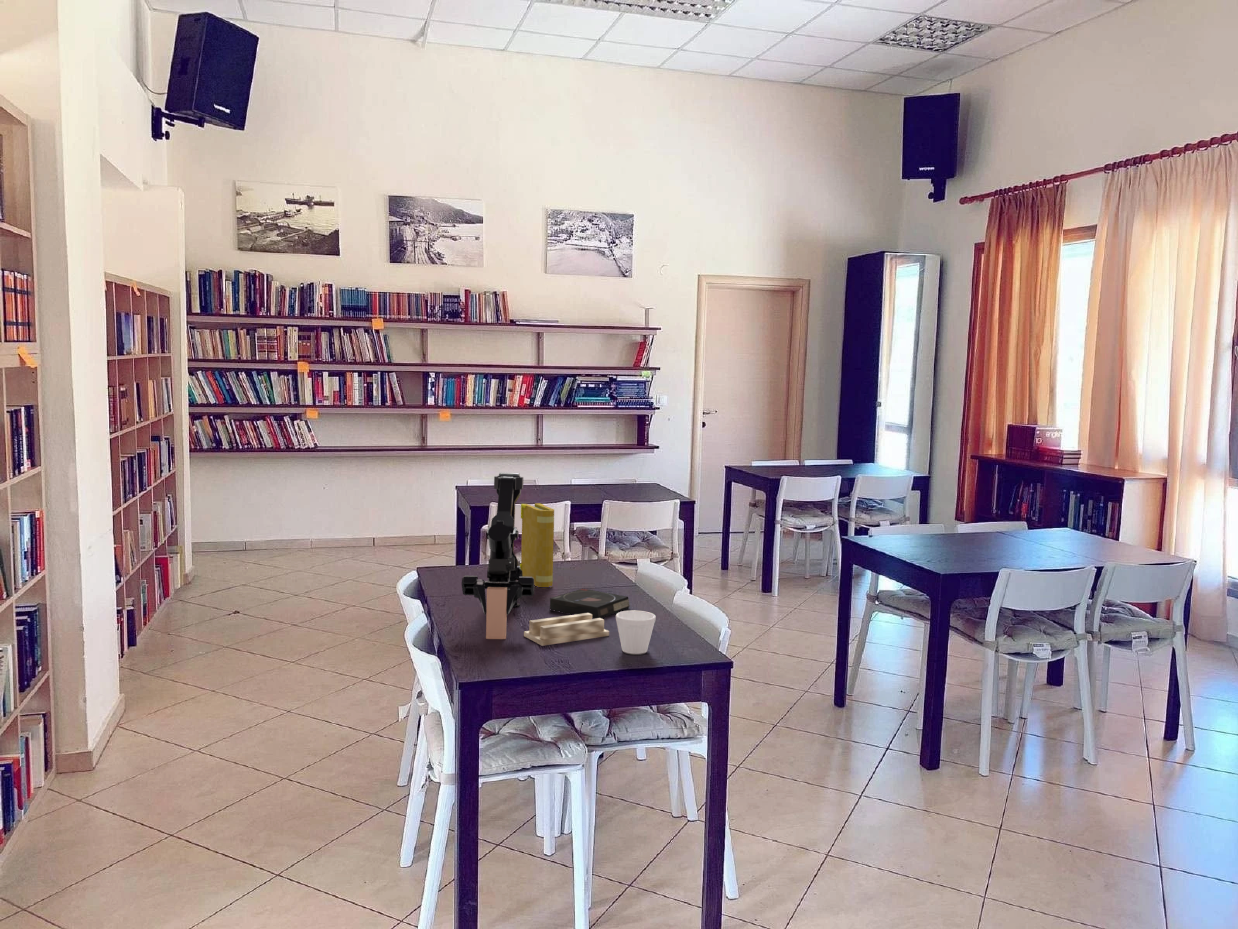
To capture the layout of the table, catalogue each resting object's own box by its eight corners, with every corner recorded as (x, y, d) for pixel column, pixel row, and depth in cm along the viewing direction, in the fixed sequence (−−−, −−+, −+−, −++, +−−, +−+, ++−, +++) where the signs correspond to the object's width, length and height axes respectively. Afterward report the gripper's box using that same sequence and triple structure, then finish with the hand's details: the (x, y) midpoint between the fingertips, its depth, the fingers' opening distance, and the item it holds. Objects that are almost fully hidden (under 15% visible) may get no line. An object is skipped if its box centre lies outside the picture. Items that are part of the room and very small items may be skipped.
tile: (486, 636, 241) (487, 587, 240) (506, 636, 242) (507, 587, 240) (486, 638, 239) (486, 589, 238) (505, 639, 239) (506, 589, 238)
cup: (613, 645, 236) (614, 610, 235) (652, 646, 237) (653, 610, 236) (616, 657, 226) (617, 620, 225) (656, 658, 227) (658, 620, 226)
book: (519, 577, 312) (521, 503, 309) (538, 576, 315) (540, 503, 312) (536, 588, 296) (538, 511, 294) (556, 587, 299) (558, 510, 297)
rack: (589, 626, 253) (589, 611, 253) (609, 635, 245) (609, 620, 245) (523, 636, 242) (524, 620, 242) (542, 645, 234) (542, 629, 234)
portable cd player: (598, 621, 261) (598, 607, 260) (549, 611, 270) (550, 598, 270) (629, 610, 275) (630, 597, 274) (582, 601, 284) (582, 588, 283)
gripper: (462, 545, 241) (457, 597, 232) (534, 546, 243) (532, 598, 233) (465, 568, 250) (460, 619, 240) (535, 569, 251) (532, 620, 241)
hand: (496, 614), depth 238 cm, fingers open, 5 cm apart
